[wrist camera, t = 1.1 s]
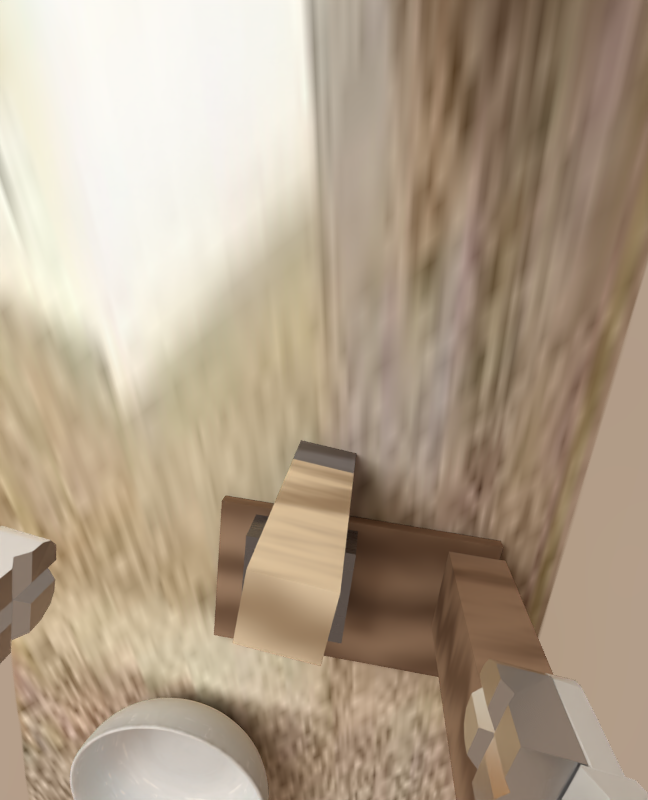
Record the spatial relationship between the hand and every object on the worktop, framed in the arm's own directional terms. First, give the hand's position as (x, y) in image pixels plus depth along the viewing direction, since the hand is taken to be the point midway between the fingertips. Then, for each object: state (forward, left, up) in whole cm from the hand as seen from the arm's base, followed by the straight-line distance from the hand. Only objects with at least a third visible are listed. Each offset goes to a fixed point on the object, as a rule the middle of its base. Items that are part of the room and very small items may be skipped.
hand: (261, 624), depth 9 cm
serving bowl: (+48, -12, -32) cm, 59 cm away
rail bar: (+12, -1, -31) cm, 34 cm away
